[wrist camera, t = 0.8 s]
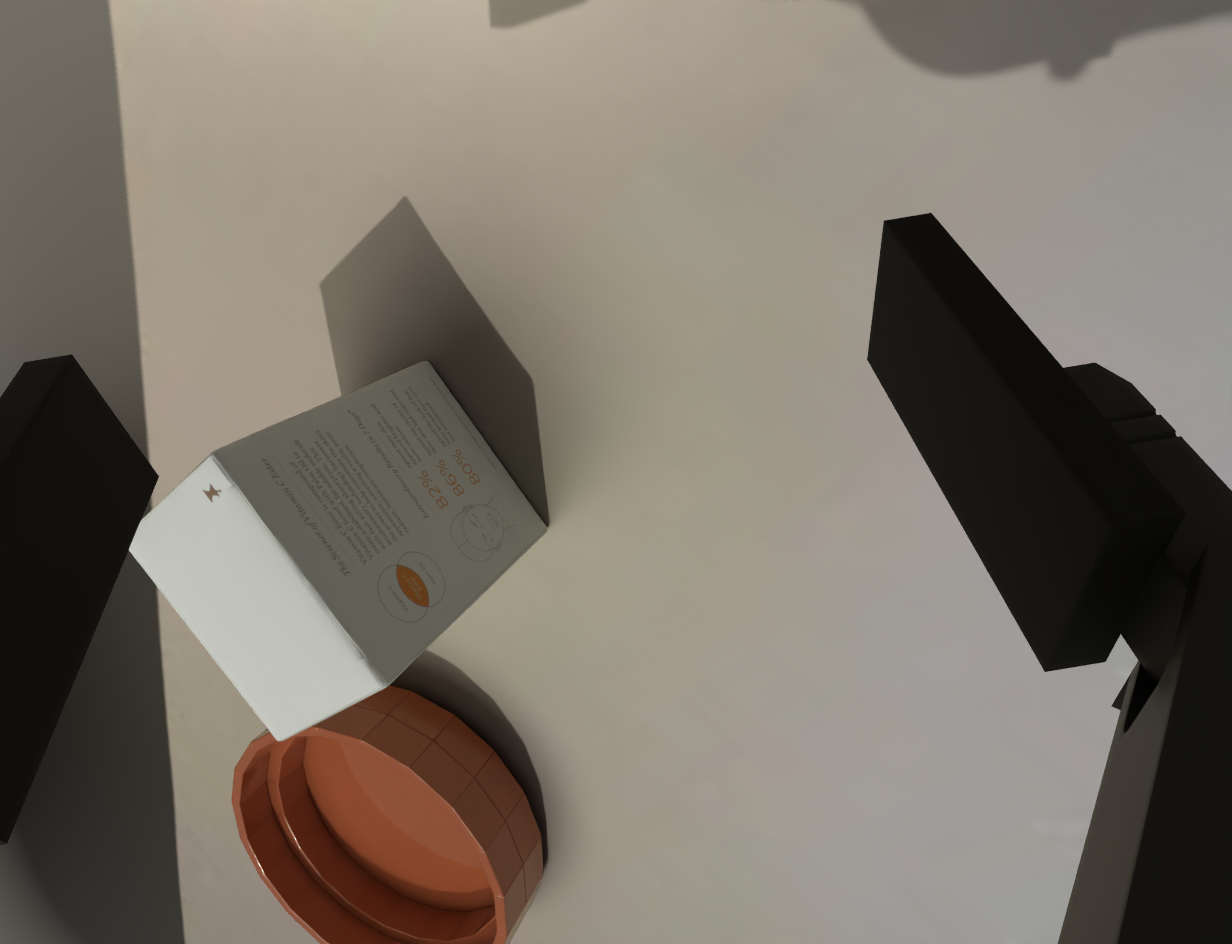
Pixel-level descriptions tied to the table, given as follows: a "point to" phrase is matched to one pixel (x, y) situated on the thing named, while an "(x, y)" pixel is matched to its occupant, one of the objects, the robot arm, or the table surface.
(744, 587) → the table surface
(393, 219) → the table surface
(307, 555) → the small box
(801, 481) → the table surface
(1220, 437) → the table surface
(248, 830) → the bowl
